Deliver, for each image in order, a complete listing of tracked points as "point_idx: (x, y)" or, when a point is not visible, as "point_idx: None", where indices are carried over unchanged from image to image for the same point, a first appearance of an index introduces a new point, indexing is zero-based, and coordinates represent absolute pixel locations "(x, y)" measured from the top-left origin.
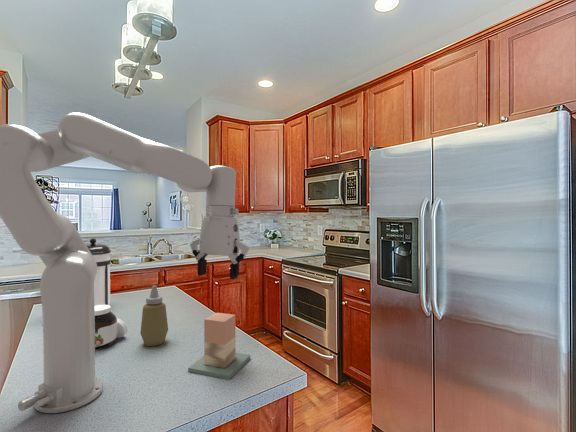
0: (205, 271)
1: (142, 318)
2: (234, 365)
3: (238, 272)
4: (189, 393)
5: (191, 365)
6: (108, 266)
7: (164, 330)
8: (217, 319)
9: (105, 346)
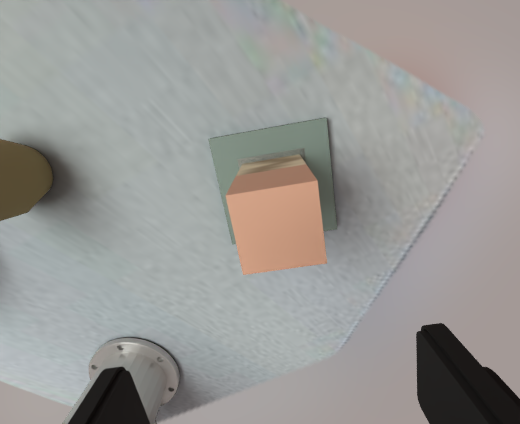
0: (122, 397)
1: None
2: (321, 188)
3: (502, 388)
4: (295, 292)
5: (230, 233)
6: None
7: (29, 175)
8: (287, 255)
9: None
